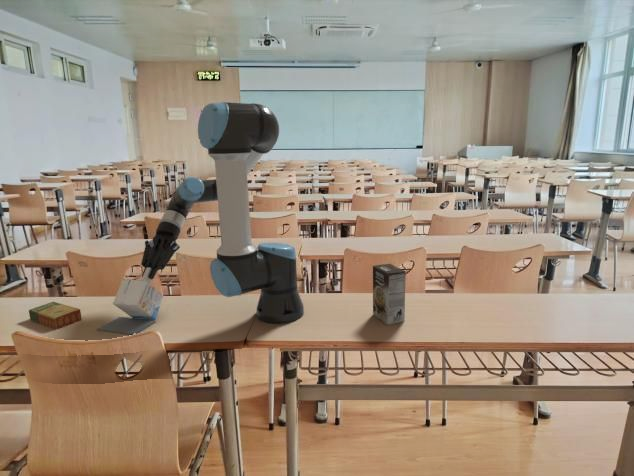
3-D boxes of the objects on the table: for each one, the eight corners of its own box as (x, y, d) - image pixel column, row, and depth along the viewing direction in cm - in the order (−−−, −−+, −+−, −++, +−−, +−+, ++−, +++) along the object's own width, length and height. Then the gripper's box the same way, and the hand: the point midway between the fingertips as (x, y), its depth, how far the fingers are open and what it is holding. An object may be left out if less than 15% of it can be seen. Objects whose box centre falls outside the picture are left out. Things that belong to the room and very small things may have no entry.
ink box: (155, 320, 136) (133, 304, 124) (132, 318, 137) (108, 302, 126) (164, 295, 140) (143, 277, 129) (141, 293, 142) (119, 276, 130)
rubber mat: (155, 322, 134) (155, 321, 134) (134, 335, 125) (134, 333, 125) (119, 317, 138) (119, 316, 138) (97, 330, 129) (96, 328, 129)
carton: (56, 330, 131) (53, 317, 130) (29, 321, 139) (27, 309, 138) (82, 320, 138) (80, 308, 137) (55, 312, 146) (53, 300, 145)
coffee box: (372, 314, 134) (371, 265, 131) (389, 310, 136) (389, 262, 133) (387, 325, 126) (387, 273, 122) (405, 321, 128) (406, 270, 125)
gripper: (191, 233, 149) (166, 294, 138) (160, 231, 153) (133, 290, 142) (181, 220, 143) (153, 283, 132) (149, 219, 147) (119, 280, 136)
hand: (143, 287), depth 137 cm, fingers closed
